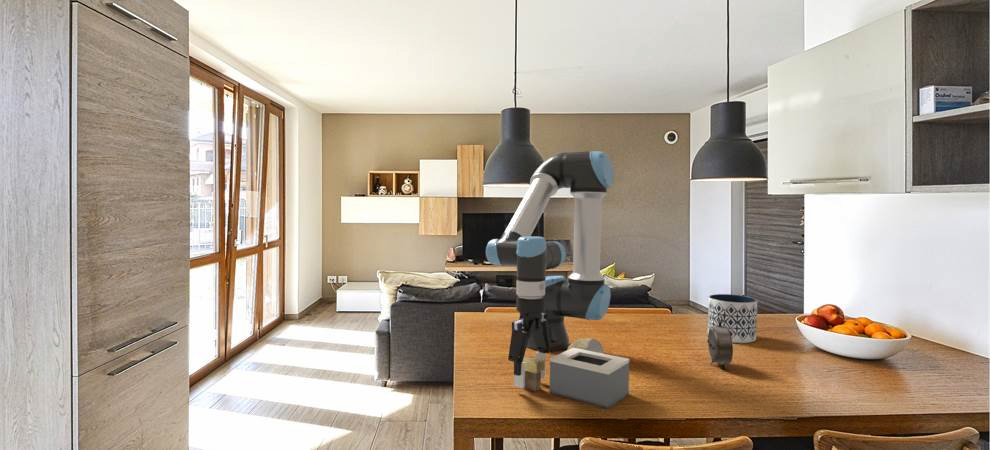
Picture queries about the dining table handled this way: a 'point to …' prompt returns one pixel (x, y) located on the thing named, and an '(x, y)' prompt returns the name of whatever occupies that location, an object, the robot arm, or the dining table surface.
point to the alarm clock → (720, 344)
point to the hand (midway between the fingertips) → (530, 381)
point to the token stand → (532, 381)
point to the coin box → (589, 377)
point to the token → (534, 365)
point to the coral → (587, 345)
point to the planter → (734, 315)
